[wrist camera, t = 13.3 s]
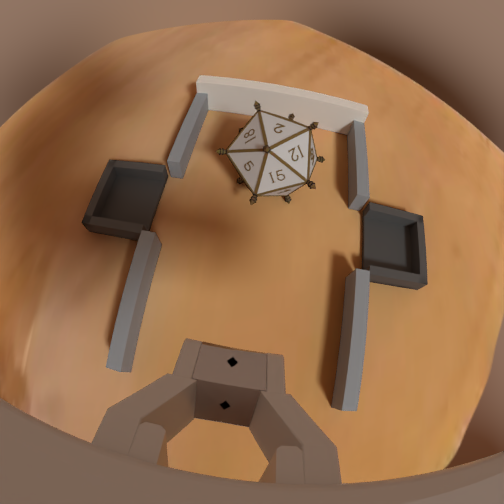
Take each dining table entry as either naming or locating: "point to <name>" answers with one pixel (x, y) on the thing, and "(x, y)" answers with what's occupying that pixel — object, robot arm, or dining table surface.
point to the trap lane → (155, 176)
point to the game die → (273, 154)
